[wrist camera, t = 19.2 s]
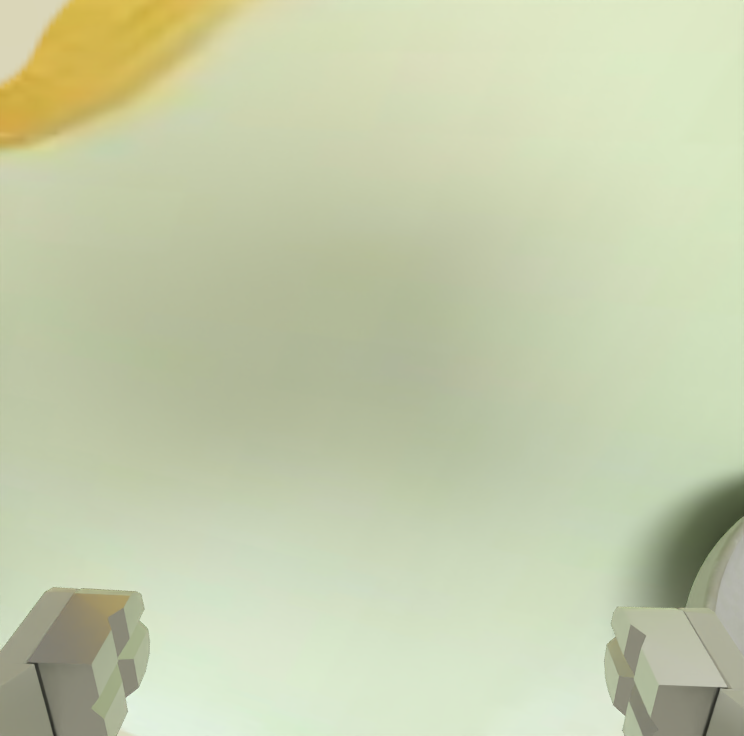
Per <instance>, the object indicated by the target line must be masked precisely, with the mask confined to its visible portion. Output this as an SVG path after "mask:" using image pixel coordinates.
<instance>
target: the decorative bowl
mask: <svg viewBox="0 0 744 736" xmlns="http://www.w3.org/2000/svg"><path fill="white" fill-rule="evenodd" d="M685 608H709V609H710V610H712V611H713V612H714V613H715V614H716V615H717V617H718V618H719V620H720V621H721V623H722V625H723V626H724V628H725V629H726V631H727V632H728V634H729V635H730V637H731V638H732V640H733V641H734V643H735V644H736V646H737V647H738V649H739V650H740V652H741V653H742V655H743V657H744V516H743V517H742V518H741V519H739V520H738V521H737V522H736V523H735V524H734V525H733V526H732V527H731V528H730V529H729V530H728V531H727V532H726V533H725V534H724V535H723V536H722V538H721V539H720V540H719V541H718V542H717V544H716V545H715V546H714V548H713V549H712V550H711V552H710V553H709V554H708V556H707V558H706V559H705V561H704V563H703V564H702V566H701V568H700V570H699V572H698V574H697V576H696V578H695V580H694V583H693V585H692V588H691V591H690V593H689V596H688V600H687V604H686V607H685Z"/></svg>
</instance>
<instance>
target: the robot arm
mask: <svg viewBox="0 0 744 736" xmlns="http://www.w3.org/2000/svg"><path fill="white" fill-rule="evenodd" d="M144 609H145V608H144V604H143V599H142V595H141V594H140V593H138V592H136V591H122V590H104V589H87V588H81V589H74V588H59V587H53V588H51V589H49V590H48V591H46V592H45V593H44V594H43V595H42V596H41V598H40V599H39V600H38V602H37V603H36V604H35V606H34V607H33V608H32V610H31V611H30V612H29V614H28V615H27V616H26V618H25V619H24V620H23V622H22V623H21V624H20V626H19V627H18V628H17V630H16V631H15V632H14V634H13V635H12V636H11V638H10V639H9V640H8V642H7V643H6V644H5V646H4V647H3V648H2V650H1V651H0V736H117V734H118V732H119V730H120V728H121V725H122V723H123V721H124V719H125V717H126V714H127V712H128V709H127V703H126V697H127V696H128V695H130V694H131V693H132V692H134V691H135V690H136V689H137V688H139V686H140V683H141V681H142V679H143V676H144V674H145V672H146V667H147V663H148V658H149V654H150V638H149V632H148V628H147V627H146V626H145V625H144V624H143V623H142V622H141V621H140V620H139V619H140V617H141V615H142V613H143V611H144ZM611 626H612V629H613V631H614V634H615V636H616V637H615V638H613V639H612V640H611V641H610V642H609V643H608V644H607V645H606V652H605V658H604V666H605V679H606V684H607V688H608V692H609V695H610V698H611V700H612V703H613V705H614V706H615V707H616V708H617V709H618V710H619V711H620V712H621V713H623V714H624V715H625V721H624V725H623V730H622V731H623V733H624V736H744V657H743V655H742V653H741V652H740V650H739V649H738V647H737V646H736V644H735V643H734V641H733V640H732V638H731V637H730V635H729V634H728V632H727V631H726V629H725V628H724V626H723V625H722V623H721V621H720V620H719V618H718V617H717V615H716V614H715V613H714V612H713V611H712V610H710V609H709V608H677V609H676V608H659V607H617V608H616V609H615V611H614V612H613V616H612V620H611Z"/></svg>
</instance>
